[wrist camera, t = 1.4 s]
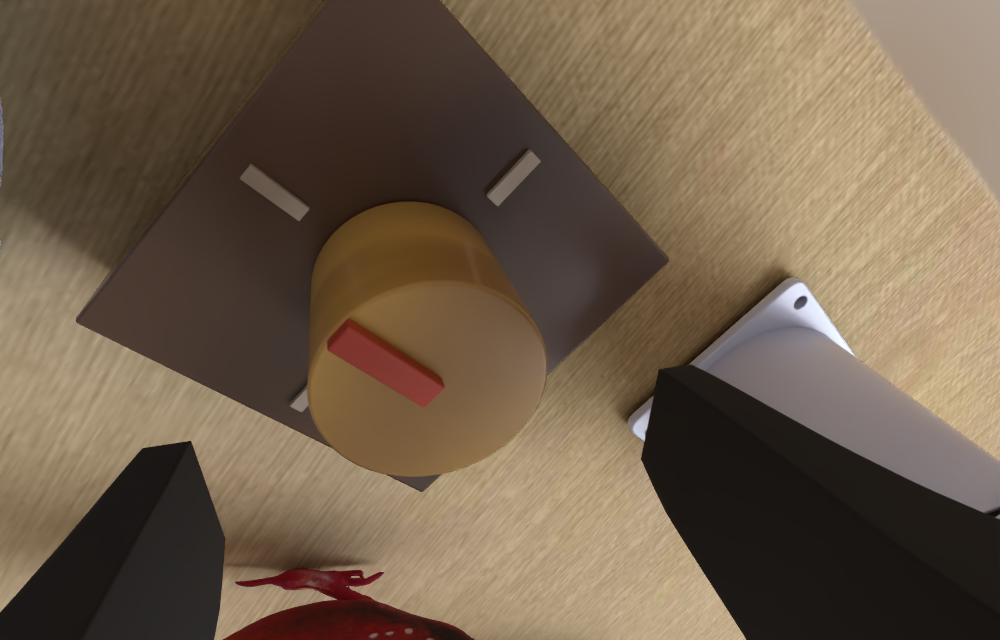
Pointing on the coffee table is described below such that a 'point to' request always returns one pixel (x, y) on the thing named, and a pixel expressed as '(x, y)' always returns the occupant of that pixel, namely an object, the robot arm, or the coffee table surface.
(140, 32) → the coffee table surface
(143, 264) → the plate
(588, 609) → the coffee table surface
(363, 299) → the lock knob
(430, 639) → the decorative bird figurine
